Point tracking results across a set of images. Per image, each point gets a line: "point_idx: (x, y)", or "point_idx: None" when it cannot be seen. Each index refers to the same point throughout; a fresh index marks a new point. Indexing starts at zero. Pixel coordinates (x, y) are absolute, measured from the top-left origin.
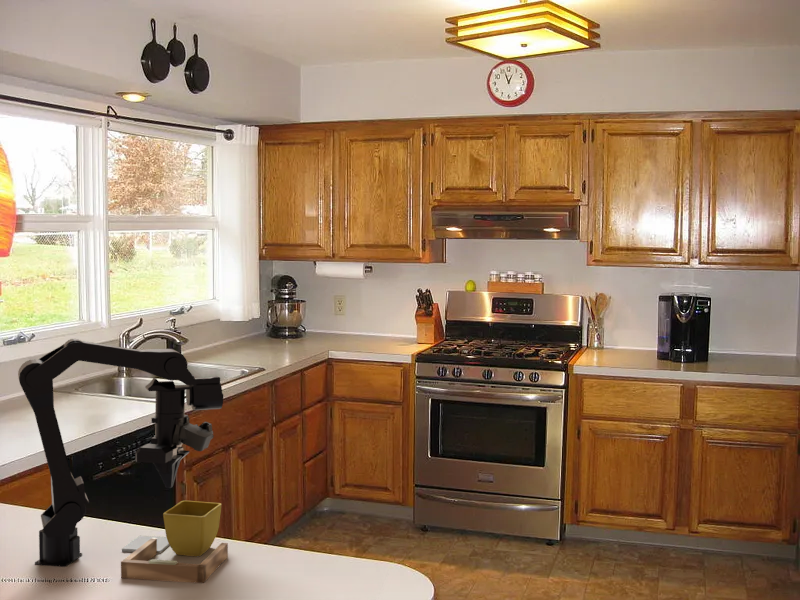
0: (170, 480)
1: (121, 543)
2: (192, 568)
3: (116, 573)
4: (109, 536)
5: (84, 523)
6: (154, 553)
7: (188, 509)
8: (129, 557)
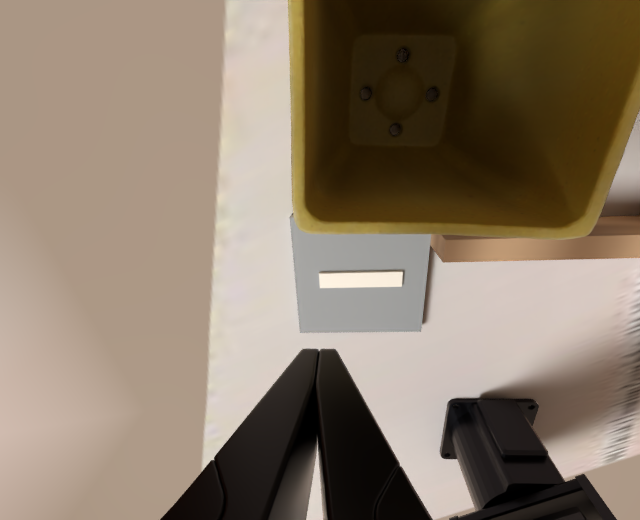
0: (360, 400)
1: (352, 352)
2: None
3: (606, 265)
4: None
5: None
6: None
7: (312, 172)
8: None
